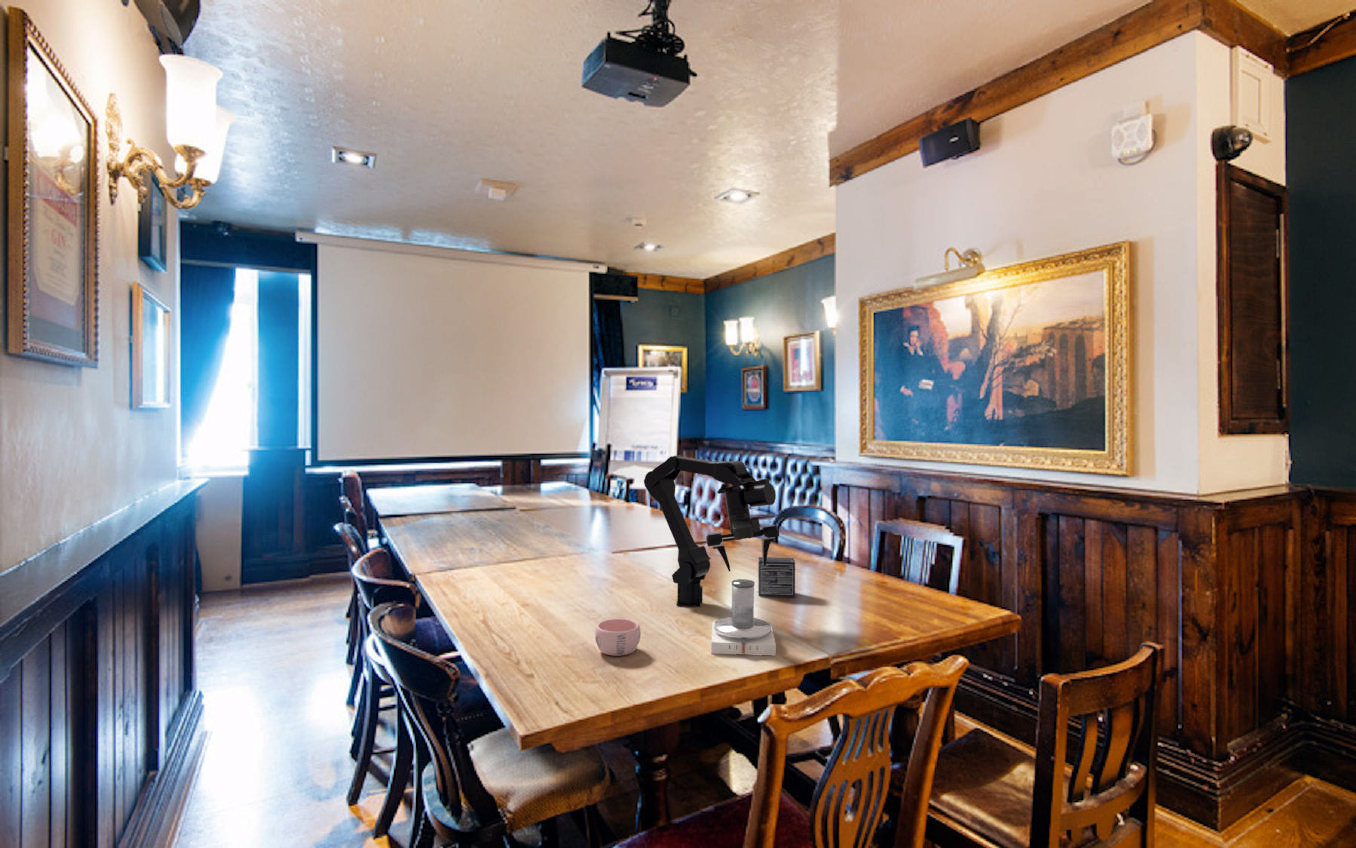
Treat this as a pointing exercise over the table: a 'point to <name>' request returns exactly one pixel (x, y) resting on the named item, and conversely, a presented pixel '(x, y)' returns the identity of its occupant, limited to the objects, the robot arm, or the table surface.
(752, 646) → the base
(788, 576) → the small box
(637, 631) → the mug
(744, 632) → the scale pan
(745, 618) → the steel weight
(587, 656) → the table surface
